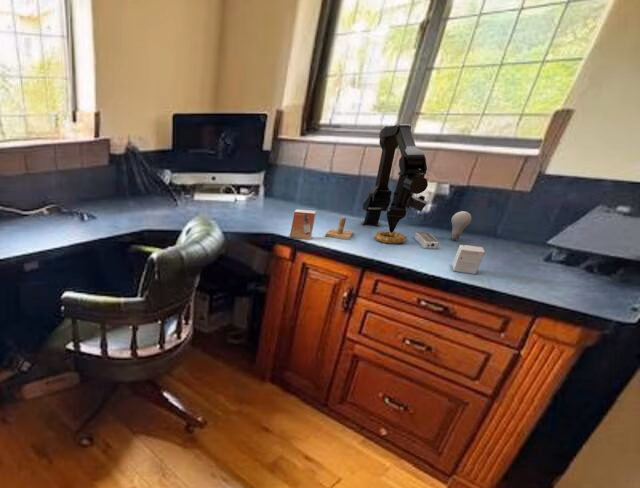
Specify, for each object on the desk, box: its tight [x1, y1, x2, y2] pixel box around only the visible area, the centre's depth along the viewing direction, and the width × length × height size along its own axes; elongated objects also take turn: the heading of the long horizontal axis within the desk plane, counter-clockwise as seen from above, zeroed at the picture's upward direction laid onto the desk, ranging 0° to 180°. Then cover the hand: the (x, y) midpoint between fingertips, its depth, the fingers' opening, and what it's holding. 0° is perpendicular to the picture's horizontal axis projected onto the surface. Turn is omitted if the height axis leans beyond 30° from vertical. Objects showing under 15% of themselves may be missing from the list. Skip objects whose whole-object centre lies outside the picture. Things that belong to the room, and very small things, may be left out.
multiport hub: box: [413, 231, 440, 250], centre depth 162 cm, size 4×14×2 cm, turn 162°
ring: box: [373, 231, 407, 245], centre depth 166 cm, size 11×11×2 cm
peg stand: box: [325, 216, 355, 240], centre depth 172 cm, size 9×9×7 cm
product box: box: [452, 244, 486, 275], centre depth 134 cm, size 6×6×7 cm
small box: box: [289, 208, 317, 240], centre depth 171 cm, size 8×6×10 cm
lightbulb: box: [450, 210, 472, 241], centre depth 162 cm, size 6×6×11 cm
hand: (392, 229), depth 168 cm, fingers open, 9 cm apart
